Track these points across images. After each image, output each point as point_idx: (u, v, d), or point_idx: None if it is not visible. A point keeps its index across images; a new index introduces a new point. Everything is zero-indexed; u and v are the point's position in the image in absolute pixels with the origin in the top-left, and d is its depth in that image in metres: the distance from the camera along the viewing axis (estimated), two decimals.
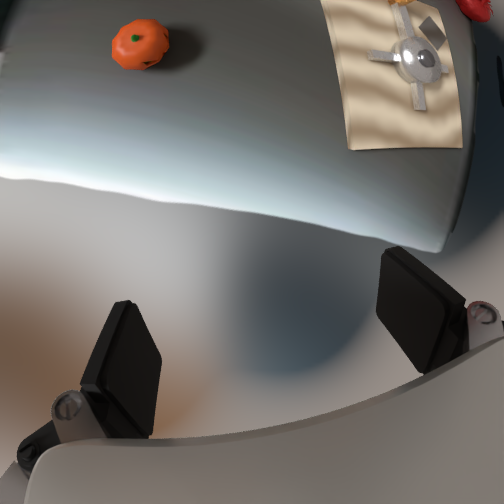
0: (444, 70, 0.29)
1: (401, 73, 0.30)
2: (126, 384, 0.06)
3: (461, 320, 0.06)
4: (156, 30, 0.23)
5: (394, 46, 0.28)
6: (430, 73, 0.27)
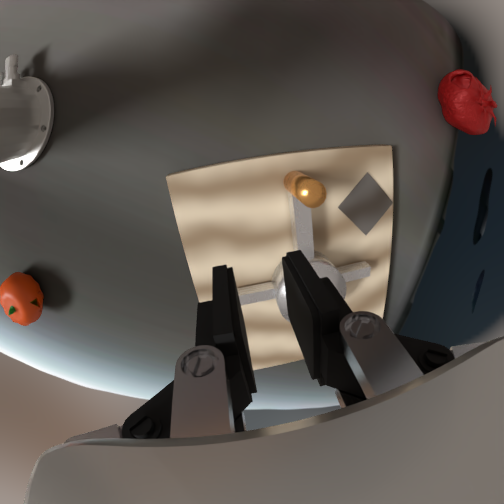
0: (362, 276, 0.32)
1: None
2: (244, 337, 0.08)
3: None
4: (23, 304, 0.26)
5: (276, 274, 0.31)
6: None
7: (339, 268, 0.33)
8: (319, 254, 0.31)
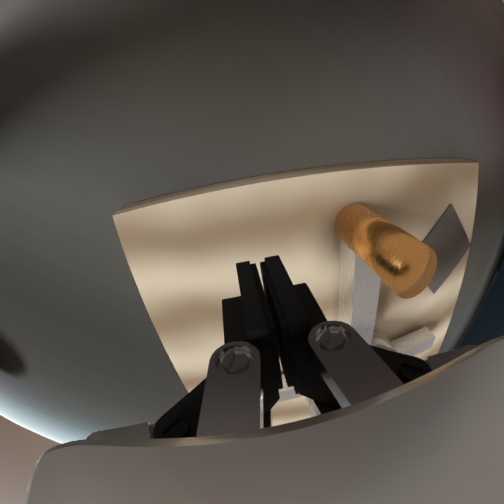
0: (423, 350, 0.19)
1: None
2: None
3: None
4: None
5: None
6: None
7: (395, 342, 0.20)
8: (375, 333, 0.18)
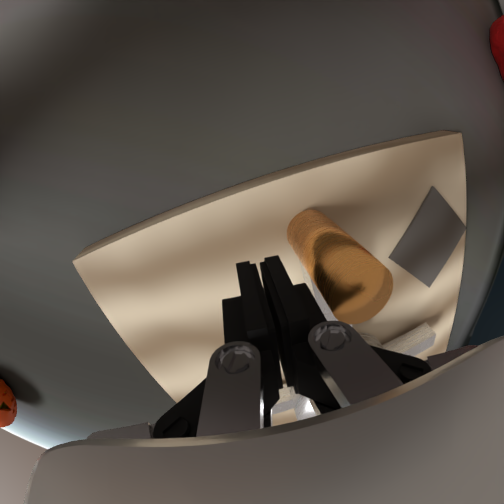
0: (423, 349, 0.18)
1: None
2: None
3: None
4: None
5: None
6: None
7: (390, 345, 0.18)
8: None
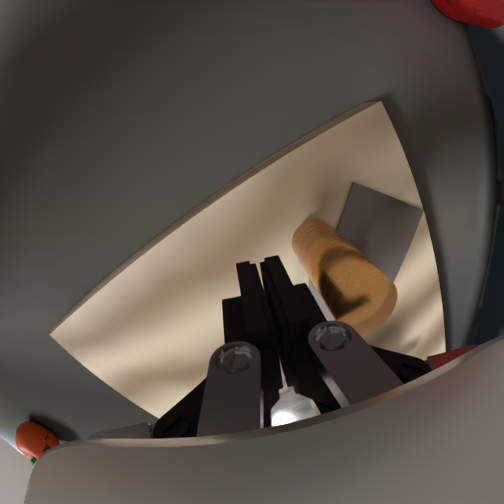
0: None
1: None
2: None
3: None
4: (37, 455, 0.19)
5: None
6: None
7: None
8: None
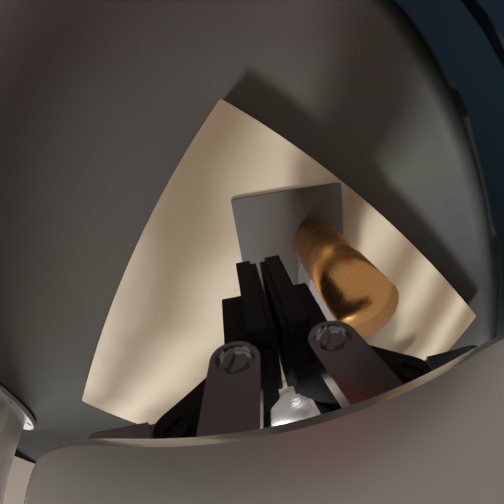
0: None
1: None
2: None
3: None
4: None
5: None
6: None
7: None
8: None
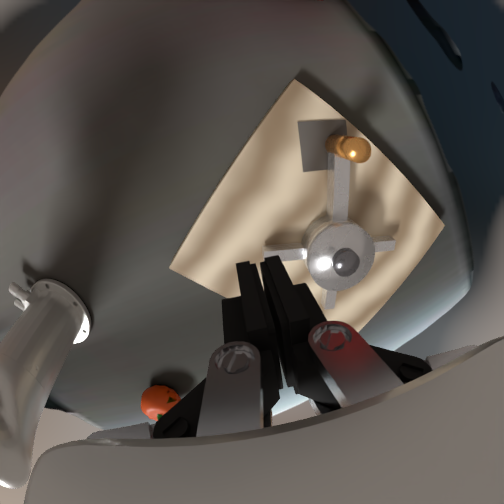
0: (387, 249, 0.32)
1: None
2: None
3: None
4: (163, 408, 0.39)
5: (308, 233, 0.30)
6: (348, 277, 0.30)
7: None
8: (350, 219, 0.30)
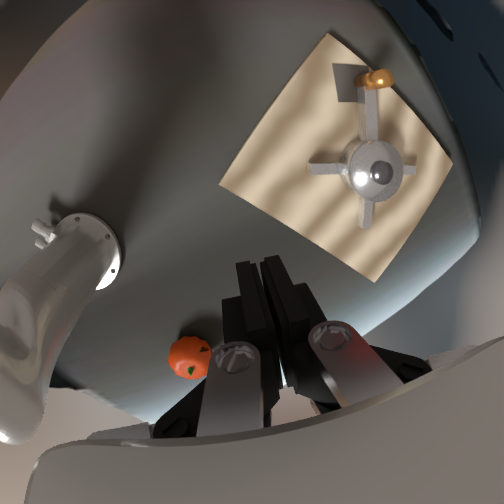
0: (410, 173, 0.33)
1: (347, 186, 0.34)
2: None
3: None
4: (195, 358, 0.40)
5: (346, 152, 0.32)
6: (384, 189, 0.31)
7: None
8: None
